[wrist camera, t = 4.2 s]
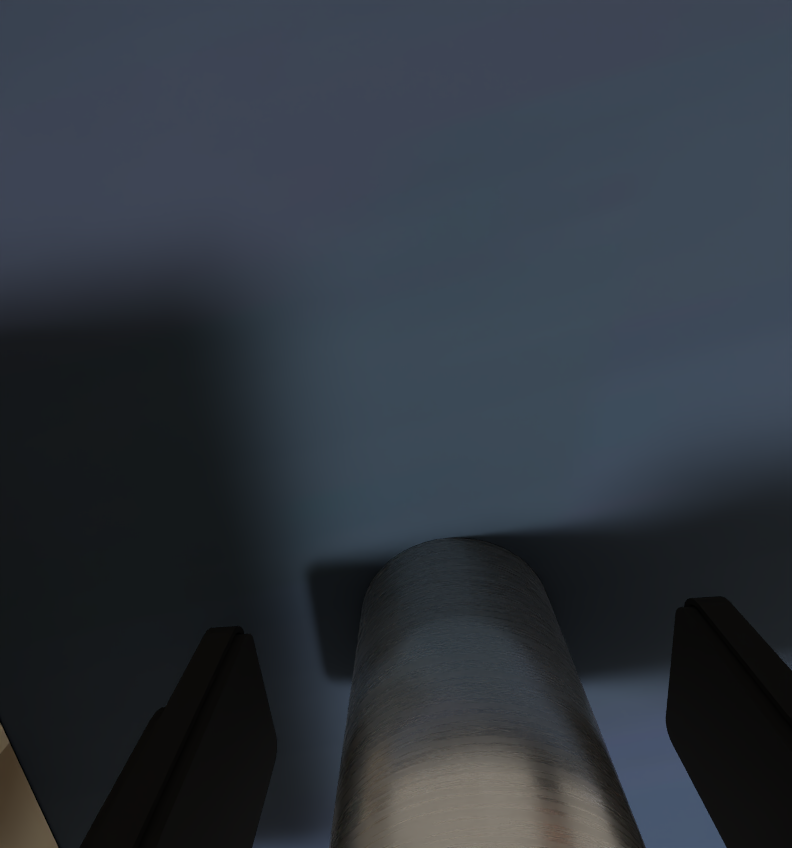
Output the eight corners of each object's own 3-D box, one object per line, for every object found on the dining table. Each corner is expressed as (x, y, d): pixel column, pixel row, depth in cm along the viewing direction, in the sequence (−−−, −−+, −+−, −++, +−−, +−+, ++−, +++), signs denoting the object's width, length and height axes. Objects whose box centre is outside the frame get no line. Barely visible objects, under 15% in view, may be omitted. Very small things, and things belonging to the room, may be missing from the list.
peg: (350, 545, 10) (241, 1072, 4) (549, 531, 10) (810, 1065, 4) (372, 696, 12) (321, 1287, 5) (549, 687, 11) (741, 1293, 5)
